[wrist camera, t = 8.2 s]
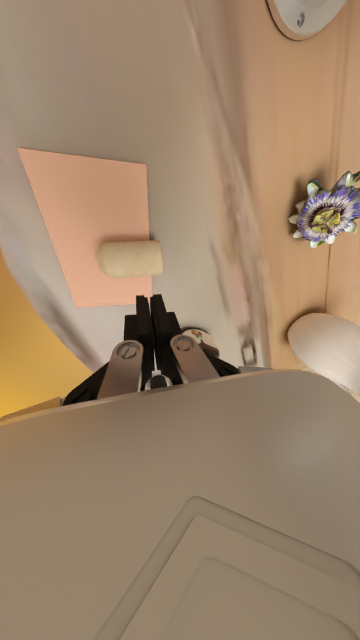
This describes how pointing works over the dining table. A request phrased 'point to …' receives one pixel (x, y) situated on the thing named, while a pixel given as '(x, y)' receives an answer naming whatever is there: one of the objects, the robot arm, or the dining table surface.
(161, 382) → the drinking cup
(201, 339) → the spread jar
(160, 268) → the candle
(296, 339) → the pitcher
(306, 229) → the passion flower
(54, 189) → the mat
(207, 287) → the dining table surface
